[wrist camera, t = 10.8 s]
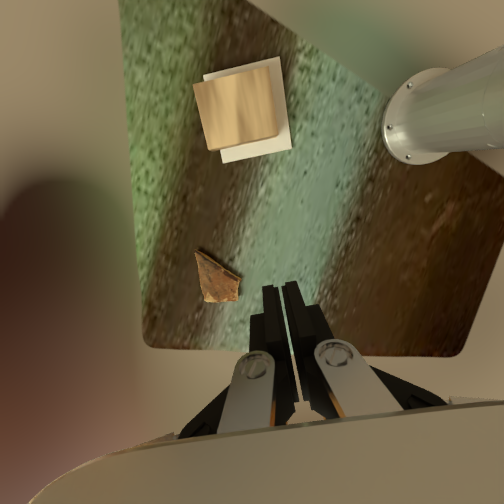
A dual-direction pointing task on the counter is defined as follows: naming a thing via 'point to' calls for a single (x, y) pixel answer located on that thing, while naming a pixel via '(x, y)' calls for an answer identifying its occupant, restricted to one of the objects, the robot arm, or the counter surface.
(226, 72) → the plastic mat
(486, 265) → the counter surface
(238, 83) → the wood block
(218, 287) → the shard
